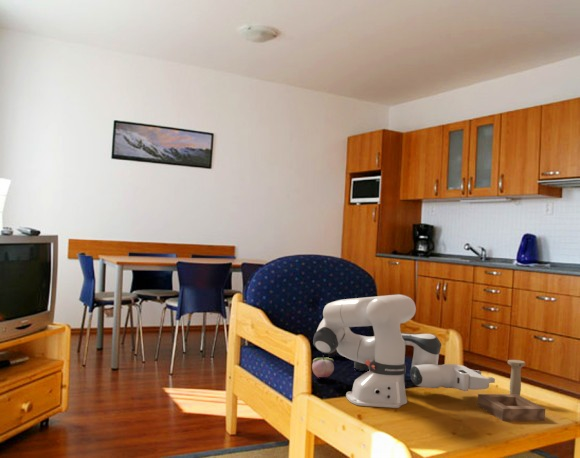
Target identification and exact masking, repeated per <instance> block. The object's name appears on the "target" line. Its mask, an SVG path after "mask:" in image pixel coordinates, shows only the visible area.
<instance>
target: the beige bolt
mask: <svg viewBox="0 0 580 458" xmlns="http://www.w3.org/2000/svg"><path fill="white" fill-rule="evenodd" d="M507 364H508V365H509V366H510V367H511V371H510V379H509V380H510V381H509V394H518V395H520V396H521V391H522V375H521V374H522V372H521V371H522V368H524V367H525V366H526V362H525V361H523V360H519V359H508V360H507Z"/></svg>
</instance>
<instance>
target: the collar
mask: <svg viewBox="0 0 580 458" xmlns="http://www.w3.org/2000/svg"><path fill="white" fill-rule="evenodd" d="M478 405H479V407H480V408H481V409H483V408H484V409H483V410H485V411H486V410H487V412H488V413H489V414H491V415H493V416H494V417H496V418H498V419H499V420H500V421H502V422H503V421H506V422H507V421H509V422H510V421H512V422H514V421H516V422H517V421H525V422H526V421H545V420H546V408H544V407H543V406H541V405H539V404H537V403H535V402H533V401H531V400H529V399H527V398H525V397H523V396H521V394H520V395H518V394H510V393H509V394H507V393H506V394H503V393H499V394H498V393H497V394H496V393H495V394H491V393H489V394H488V393H487V394H486V393H484V394H483V393H481V394H480V393H479V394H477V406H478Z"/></svg>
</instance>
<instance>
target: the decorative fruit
mask: <svg viewBox="0 0 580 458" xmlns="http://www.w3.org/2000/svg"><path fill="white" fill-rule="evenodd" d="M334 362H335V361H334V359H333V358H329V357H324V355H323V354H322V357H316V358H314V359H313V360H312V365H311V368H312V369H311V370H312V372H313V374H314V375H315V377H317V378H319V377H327V378H328V377H330V376H331V375H332V374H333V373H334V370H335V366H334Z"/></svg>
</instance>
